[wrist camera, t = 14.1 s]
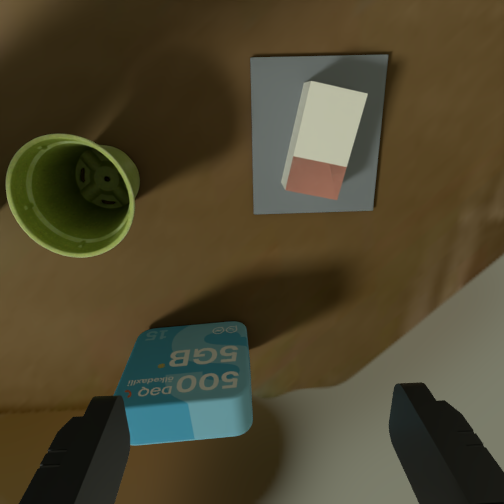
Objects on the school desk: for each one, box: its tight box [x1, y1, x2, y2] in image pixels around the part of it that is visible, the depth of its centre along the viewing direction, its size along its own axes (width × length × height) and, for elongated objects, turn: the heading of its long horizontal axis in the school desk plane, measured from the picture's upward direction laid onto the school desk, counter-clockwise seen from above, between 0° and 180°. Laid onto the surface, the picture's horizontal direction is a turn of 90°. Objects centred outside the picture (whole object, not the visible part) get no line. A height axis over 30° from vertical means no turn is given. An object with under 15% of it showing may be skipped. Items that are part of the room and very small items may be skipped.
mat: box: [250, 55, 388, 214], centre depth 35 cm, size 12×14×1 cm
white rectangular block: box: [281, 81, 368, 200], centre depth 34 cm, size 9×5×4 cm, turn 169°
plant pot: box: [6, 134, 140, 258], centre depth 32 cm, size 9×9×9 cm
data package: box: [114, 321, 253, 445], centre depth 38 cm, size 12×4×12 cm, turn 95°
